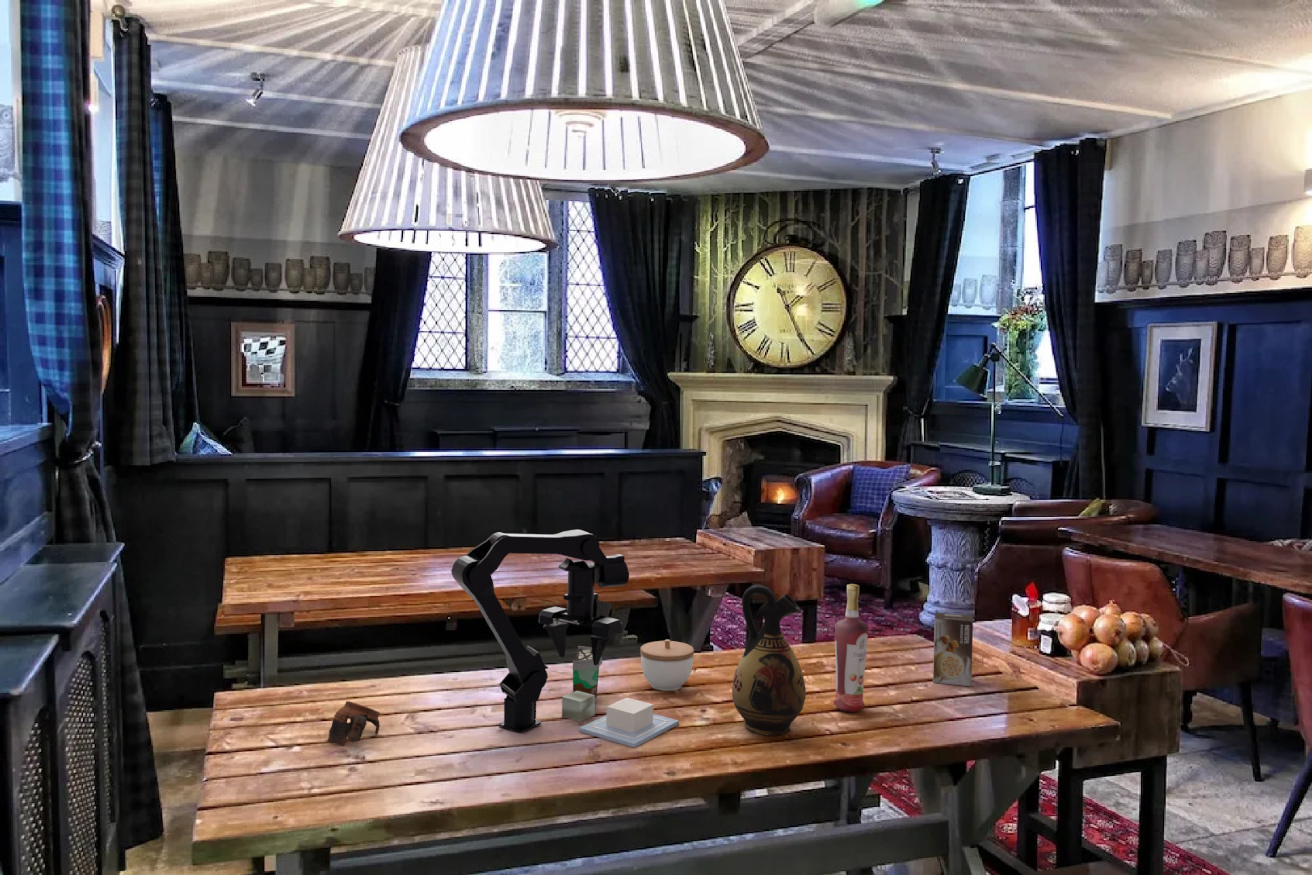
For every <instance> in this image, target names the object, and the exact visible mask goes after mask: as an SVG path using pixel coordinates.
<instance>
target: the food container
mask: <svg viewBox="0 0 1312 875" xmlns="http://www.w3.org/2000/svg"><path fill="white" fill-rule="evenodd" d="M602 664H603V658H602V656H601V659H600V661H599V664H598V665H596V666H595V665H594V663H593V657H592V646H591V647H589V646H583V645H582V646H581V645H577V654H576V655H575V659H574V660H572V692H575V691H581V692H584V693H588V694H592V695H595V699H597V697H598V686H599V685H598V684H599V675H600V666H601V665H602Z"/></svg>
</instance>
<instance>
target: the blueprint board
mask: <svg viewBox="0 0 1312 875" xmlns="http://www.w3.org/2000/svg"><path fill="white" fill-rule="evenodd" d="M605 714H606V715H603V716H602V717H600V718H598V719H595V720H594V721H591V722H589V723H587V724H585V725H583V726H580V727H579V730H578V731H579V733H583V734H587V735H590V736H593V737H597V738H600V739H604V740H607V741H610V742H613V743H617V744H621V745H624V746H628V747H631V748H636V747H638V746H640V745H642V744H644V743H646V742H649V741H651V739H653V738H655V737H657V736H660V735H662V734H663V733H665V732H667V731H668V730H670V729H672V728H674V727H676V726H678V725H679V722H680V721H679V720H678V719H674V718H670V717H667V716H663V715H659V714H655V713H654V704H653V703H648V702H646V701H641V700H638V699H633V698H630V697H624V698H622V699H620V700H618V701H615V702H614V703H611V704H610V705H607V706H606V713H605Z"/></svg>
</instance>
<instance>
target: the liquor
mask: <svg viewBox="0 0 1312 875" xmlns="http://www.w3.org/2000/svg"><path fill="white" fill-rule="evenodd" d="M846 596H847V600H846V601H847V602H846V609H845V614H844V615H845V617H844V619H840V620H839V621H837V622H836V623H835V624H834V652H835V657H834V658H835V698H834V700H833V705H835V706H836V708H838V710H839V711H841V712H844V713H851V714H852V713H858V712H859V711H860V710H862V708H864V707H865V702H864V701H863V700H864V687H865V686H864V685H865V684H864V683H865V673H866V672H865V671H866V662H867V661H866V660H867V651H868V641H869V640H868V639H869V637H868V636H869V625H867V624H866V623H865V622H864V621H862V620H860V615H859V596H860V585H858V584H856V583H849V584H846Z"/></svg>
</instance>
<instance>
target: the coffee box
mask: <svg viewBox="0 0 1312 875" xmlns="http://www.w3.org/2000/svg"><path fill="white" fill-rule="evenodd" d="M933 627H934V630H933V631H934V634H933V635H934V636H933V659H932V662H933V663H932V668H933V669H932V683H933V684H934V683H935V684H943V685H954V686H963V687H972V686H973V685H972V683H973V682H972V678H973V674H972V673H973V640H974V639H973V638H974V636H973V635H974V628H973V627H974V617H973V615H970V614H969V615H968V614H957V613H947V612H935V613H934V626H933Z"/></svg>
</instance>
